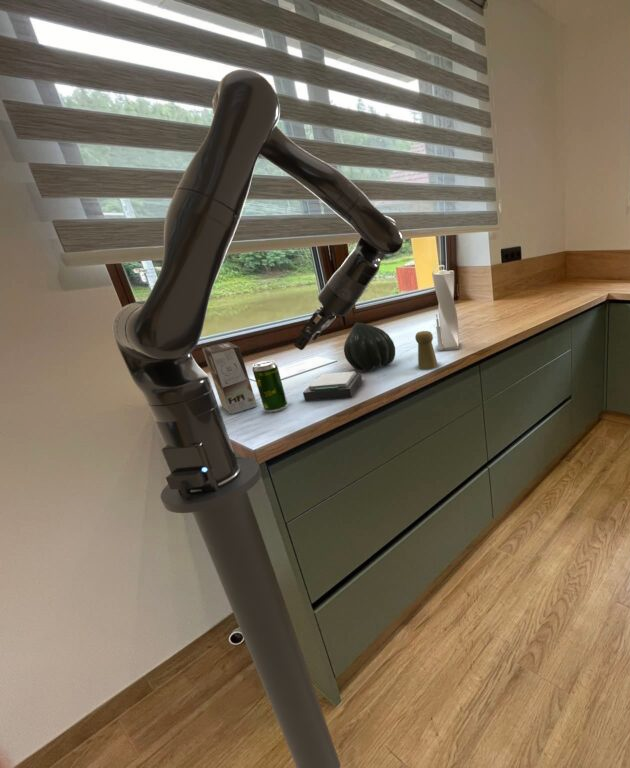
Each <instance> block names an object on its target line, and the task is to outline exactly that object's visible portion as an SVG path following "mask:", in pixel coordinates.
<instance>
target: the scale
mask: <svg viewBox="0 0 630 768" xmlns="http://www.w3.org/2000/svg"><path fill="white" fill-rule="evenodd" d="M362 383H363V376H362V373H361V372H359V373H356V371H343V372H333V373H321V374H320V375H319V376H318V377H316V379H315V380H314V381H313V382H312V383H311V384H310V385H309V386H308V387H307V388H306V389H305V390H304V391H303V392H302V395H303V398H304V401H305V402H314V401H324V400H325V401H326V400H339V399H349V398H353V396H354V395H355V393H356V392H357V390H358V389H359V387H360V386H361V384H362Z"/></svg>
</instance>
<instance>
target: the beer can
mask: <svg viewBox="0 0 630 768" xmlns="http://www.w3.org/2000/svg"><path fill="white" fill-rule="evenodd" d="M251 366H252V373H253V377H254V379H255V380H254V381H255V383H256V387H257V390H258V393H259V397H260V399H261V403H262V407H263V410H264V411H265V412H267V413H277V412H280V411H283V410H285V409H287V407H288V400H287V396H286V393H285V389H284V386H283V382H282V378H281V375H280V371H279V367H278V364H277V363H276V361H275V360H271V359H269V360H262V361H259V362H258V361H257V362H255V363H253V364H252V365H251Z"/></svg>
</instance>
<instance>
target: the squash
mask: <svg viewBox="0 0 630 768" xmlns="http://www.w3.org/2000/svg"><path fill="white" fill-rule="evenodd" d="M343 354H344V357H345V359H346V361H347V362H348V364H349V365H350V366H351V367H353V368H354V369H355V370H357V371H366V372H369V371H372V370H374V369H375V368H379V367H381V366H382V367H384V366H388V365H390V364H391V363H393V361H394V360H395V358H396V346H395V343H394V341H393V339H392V338H391V337H390V335H389V334H388V333H387V332H386V331H385V330H383V329H381V328H379V327H377V326H374V325H371V324H367V323H363V322H355V323H354V325H353V326H352V327H351V330H350V332H349V333H348V336H347V338H346V339H345V342H344V344H343Z"/></svg>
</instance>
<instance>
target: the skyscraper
mask: <svg viewBox="0 0 630 768" xmlns="http://www.w3.org/2000/svg"><path fill="white" fill-rule="evenodd" d="M440 267H442V269H441V270H438V272H436V273H435V271H436V270H437V269H438V268H440ZM445 268H446V267H445V265H444V264H439V265H436V266H435V267H434V268H433V270H432V273H431V275H432V281H433V286H434V290H435V294H436V298H437V302H438V307H437V308H438V314H437V313H435V317H436V319H435V320H436V326H435V329H436V336H437V337H436V339H437V347H438V348H437V349H438V350H437V351H438V352H445V351H455V350H456V351H458V350H459V347H460V341H459V339H460V338H459V337H460V335H459V334H460V333H459V319H458V312H457V308H456V303H455V299H454V297H455V271H454V270H451V269H450V270H447V269H445Z"/></svg>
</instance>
